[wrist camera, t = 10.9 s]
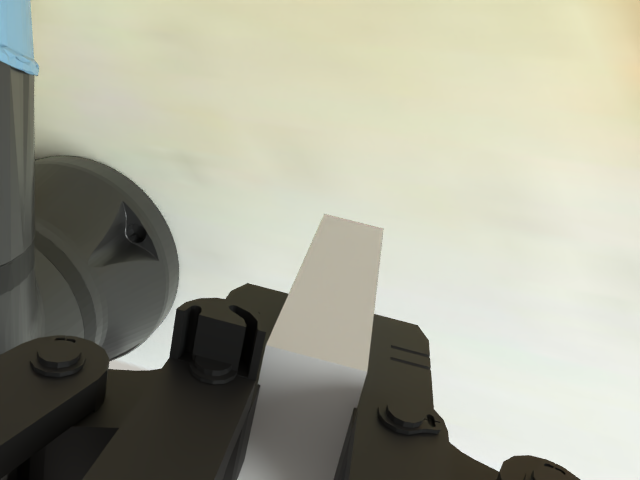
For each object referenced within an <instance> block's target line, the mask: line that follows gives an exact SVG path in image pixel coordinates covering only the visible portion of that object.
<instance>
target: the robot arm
mask: <svg viewBox="0 0 640 480" xmlns="http://www.w3.org/2000/svg"><path fill="white" fill-rule="evenodd" d="M38 72H39V65H38V64H37V63H36V62H35V60H34V52H33V36H32V21H31V5H30V0H0V480H237V479H238V480H580V479H579V478H577V477H576V476H575V475H573V474H572V473H571V472H569V471H568V470H567V469H565V468H563V467H562V466H560V465H558V464H555V463H554V462H551V461H548V460H546V459H542V458H538V457H534V456H529V455H525V456H513V457H511V458H509V459H508V460H506V461H504V462H503V464H502V467H501V469H500V472H498V471H496V470H494V469H492V468H490V467H488V466H486V465H484V464H482V463H480V462H478V461H476V460H474V459H473V458H471V457H469V456H467V455H466V454H464V453H462V452H461V451H460V450H458V449H457V448H456V447H455V446H453V445H452V444H451V443H450V442H449V437H448V430H447V428H446V425H445V423H444V420H443V419H442V418H441V417H440V416H439V414H438V413H437V412H436V411H435V410H434V406H433V393H432V379H431V370H430V368H431V365H430V358H429V356H430V352H429V340H428V339H427V337H426V336H425V335H424V333H423V332H422V331H421V329H420V328H419V326H418V325H415V324H411V323H407V322H403V321H399V320H395V319H391V318H388V317H384V316H380V315H376V314H374V308H375V299H376V291H377V282H378V273H379V264H380V255H381V246H382V238H383V228H379V227H375V226H371V225H367V224H363V223H359V222H355V221H351V220H347V219H343V218H339V217H335V216H331V215H327V214H324V216H323V218H322V220H321V222H320V225H319V227H318V229H317V231H316V234H315V236H314V238H313V240H312V243H311V245H310V247H309V249H308V252H307V254H306V256H305V258H304V261H303V263H302V265H301V267H300V270H299V272H298V274H297V276H296V279H295V281H294V283H293V285H292V288H291V290H290V292H289V294H287V293H283V292H280V291H276V290H272V289H268V288H264V287H260V286H256V285H252V284H249V283H247V284H245V285H243V286H241V287H239V288H236V289H234V290H232V291H231V292H230V293H229V295H228V296H227V298H226V299H220V298H200V299H196V300H192V301H189V302H186V303H184V304H183V305H181V306H180V307H178V308H177V310H176V316H175V323H174V330H173V337H172V344H171V351H170V357H169V359H168V361H167V362H166V363H165V365H164V366H163V367H162V369H156V370H150V371H130V370H113V369H108V367H109V361H112V360H115V359H117V358H120V357H122V356H124V355H126V354H128V353H130V352H131V351H133V350H134V349H136V348H137V347H139V346H140V345H141V344H142V343H144V342H145V341H146V340H147V339H148V338H149V337H150V335H151V334H152V333H153V332H154V331H155V330H156V329H157V328H158V326H159V325H160V324H161V323H162V322H163V320H164V319H165V318H166V316H167V315H168V313H169V311H170V309H171V307H172V305H173V302H174V300H175V296H176V293H177V288H178V281H179V263H178V255H177V250H176V246H175V243H174V240H173V237H172V234H171V232H170V229H169V227H168V225H167V223H166V221H165V219H164V218H163V216H162V214H161V213H160V211H159V210H158V208H157V207H156V205H155V204H154V203H153V202H152V200H151V199H150V198H149V197H148V196H147V195H146V194H145V193H144V192H143V191H142V190H141V189H140V188H139V187H138V186H137V185H136V184H135V183H133V182H132V181H131V180H130V179H128V178H127V177H125V176H124V175H122V174H121V173H119V172H117V171H116V170H114V169H112V168H110V167H108V166H106V165H104V164H101V163H98V162H96V161H92V160H89V159H85V158H80V157H73V156H52V157H46V158H41V159H38V160H35V156H34V75H36V76H38Z"/></svg>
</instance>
